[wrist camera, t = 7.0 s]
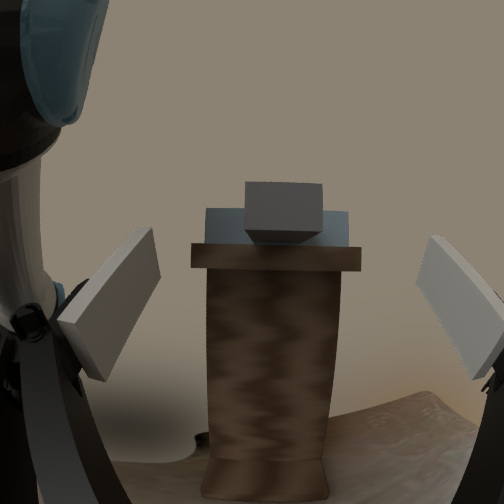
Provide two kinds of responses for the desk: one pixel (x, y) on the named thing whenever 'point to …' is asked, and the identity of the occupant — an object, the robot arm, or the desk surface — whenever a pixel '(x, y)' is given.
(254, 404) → the shelf stand
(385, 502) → the desk surface
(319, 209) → the grey toy mallet
